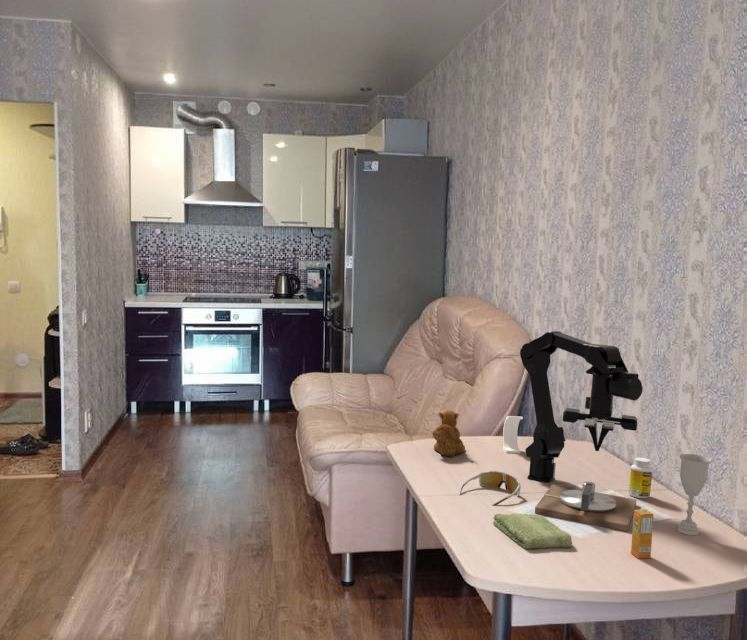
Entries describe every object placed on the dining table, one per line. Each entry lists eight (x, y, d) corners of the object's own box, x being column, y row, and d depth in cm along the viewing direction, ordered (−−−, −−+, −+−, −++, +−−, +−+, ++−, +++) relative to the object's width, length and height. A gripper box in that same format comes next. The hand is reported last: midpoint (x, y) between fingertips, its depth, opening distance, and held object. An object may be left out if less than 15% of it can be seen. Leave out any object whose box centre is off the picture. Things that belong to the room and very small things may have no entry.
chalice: (689, 538, 175) (696, 463, 174) (665, 527, 181) (673, 455, 180) (710, 534, 179) (718, 460, 177) (686, 524, 185) (694, 453, 183)
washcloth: (538, 521, 182) (539, 508, 182) (576, 550, 165) (577, 536, 165) (488, 523, 179) (489, 510, 178) (521, 552, 162) (523, 538, 161)
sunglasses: (528, 495, 200) (528, 478, 199) (498, 516, 189) (498, 498, 188) (483, 482, 209) (483, 465, 208) (452, 501, 198) (452, 484, 197)
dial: (562, 490, 201) (564, 472, 200) (617, 499, 196) (619, 480, 195) (554, 509, 185) (556, 489, 184) (613, 519, 180) (615, 499, 179)
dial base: (534, 513, 186) (535, 506, 186) (552, 489, 206) (552, 483, 206) (627, 531, 177) (628, 524, 177) (636, 505, 197) (636, 498, 197)
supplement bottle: (641, 500, 202) (644, 463, 201) (624, 494, 206) (627, 457, 205) (654, 497, 205) (657, 461, 204) (637, 491, 209) (640, 455, 208)
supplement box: (628, 552, 164) (632, 508, 163) (643, 552, 165) (647, 508, 164) (636, 559, 161) (641, 514, 160) (651, 558, 162) (655, 513, 161)
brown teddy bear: (465, 449, 243) (468, 409, 242) (460, 460, 230) (463, 418, 228) (435, 445, 246) (438, 406, 244) (428, 456, 232) (431, 415, 231)
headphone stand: (506, 452, 242) (508, 416, 241) (501, 447, 248) (504, 412, 247) (520, 453, 242) (523, 417, 241) (515, 448, 248) (518, 412, 247)
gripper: (639, 392, 203) (634, 448, 204) (568, 384, 209) (563, 439, 210) (639, 399, 192) (633, 458, 194) (565, 390, 198) (560, 448, 200)
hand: (596, 450), depth 200 cm, fingers closed
